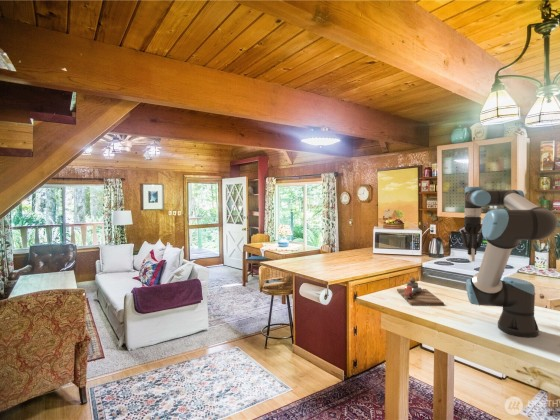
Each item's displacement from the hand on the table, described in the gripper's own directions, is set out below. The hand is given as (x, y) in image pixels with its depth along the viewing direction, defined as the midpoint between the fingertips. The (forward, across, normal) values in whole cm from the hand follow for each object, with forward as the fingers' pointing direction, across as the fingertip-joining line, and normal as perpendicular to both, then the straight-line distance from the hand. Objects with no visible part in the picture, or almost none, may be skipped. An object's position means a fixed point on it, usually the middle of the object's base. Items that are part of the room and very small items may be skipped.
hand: (471, 260), depth 174 cm
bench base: (+26, +20, -20) cm, 39 cm away
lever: (+25, +23, -20) cm, 39 cm away
